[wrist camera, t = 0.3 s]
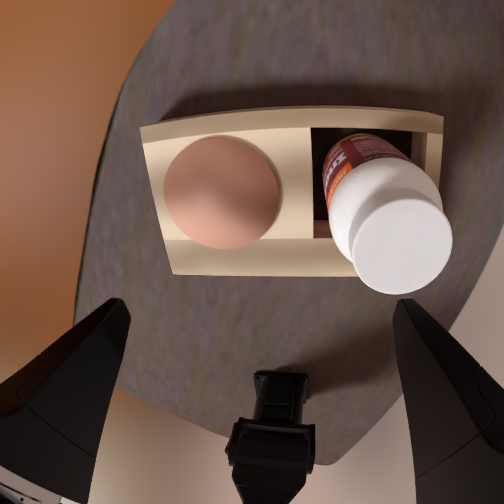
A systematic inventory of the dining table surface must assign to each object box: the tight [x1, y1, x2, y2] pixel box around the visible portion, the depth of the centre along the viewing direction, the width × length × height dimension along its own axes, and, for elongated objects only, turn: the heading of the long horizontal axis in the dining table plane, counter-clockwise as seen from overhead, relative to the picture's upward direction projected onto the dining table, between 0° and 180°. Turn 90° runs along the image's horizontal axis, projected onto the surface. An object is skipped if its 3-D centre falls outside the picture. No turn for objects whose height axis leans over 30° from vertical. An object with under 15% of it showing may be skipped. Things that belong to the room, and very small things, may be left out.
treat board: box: [140, 106, 444, 276], centre depth 21 cm, size 12×20×3 cm, turn 96°
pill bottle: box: [322, 133, 452, 294], centre depth 16 cm, size 6×6×11 cm
